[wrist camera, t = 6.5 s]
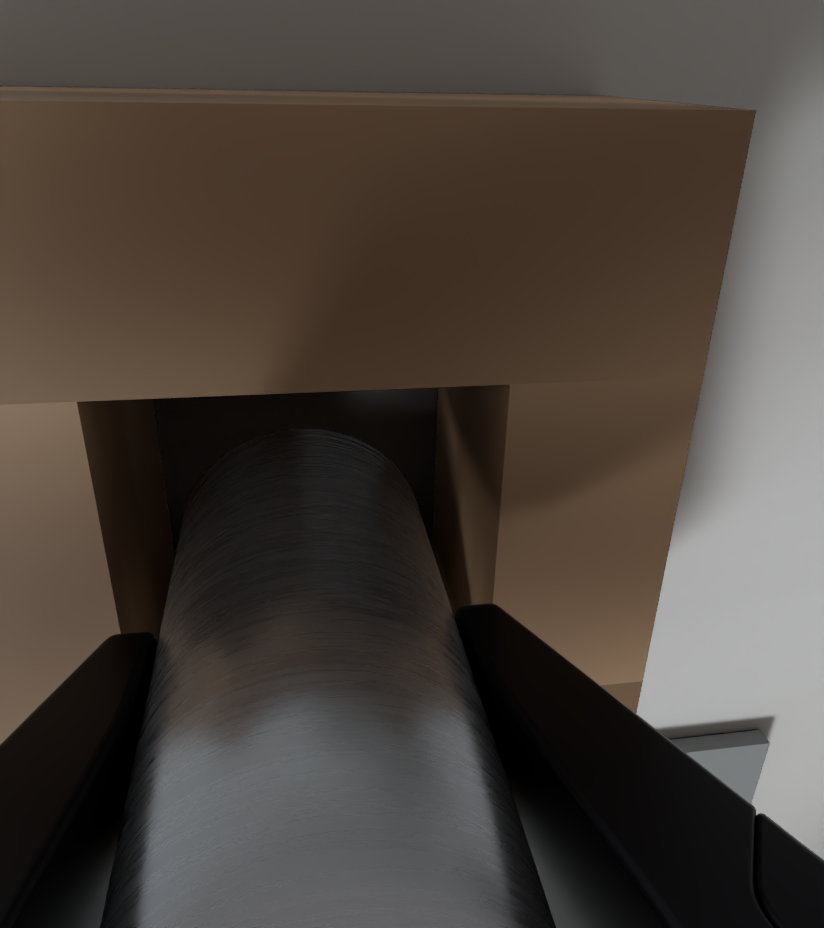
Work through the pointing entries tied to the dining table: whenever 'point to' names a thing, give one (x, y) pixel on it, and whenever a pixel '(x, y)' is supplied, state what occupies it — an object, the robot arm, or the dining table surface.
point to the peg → (315, 717)
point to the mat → (730, 758)
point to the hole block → (358, 333)
